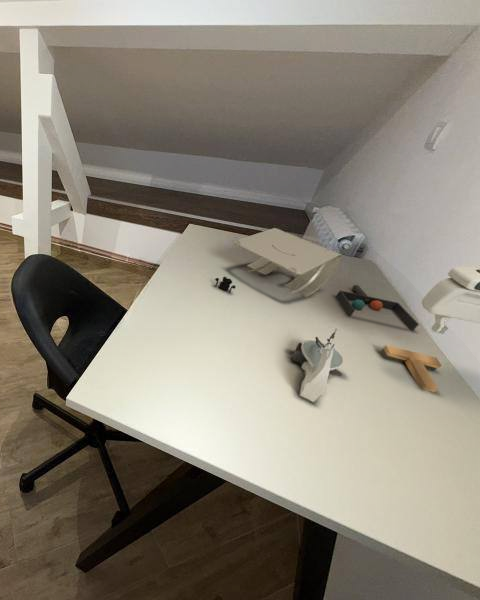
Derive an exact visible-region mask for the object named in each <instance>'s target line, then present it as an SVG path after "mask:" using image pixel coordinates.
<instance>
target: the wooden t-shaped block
mask: <svg viewBox="0 0 480 600" xmlns="http://www.w3.org/2000/svg"><path fill="white" fill-rule="evenodd" d="M378 353H379V354H380V356H381V358H382V359H385V360H388V361H393V362H397V363H400V364H404V365H406V367H407V369H408V370H409V373H410V374H411V376H412V378H413V380H414V381H415V382H416V383H417V385H418V386H419V387H420V388H421V390H424V391H428V392H431V393H435V392H437V391H439V388H438V386H437V384H436V383H435V382H434V380H433V378H432V376H431V374H430V373H429V371H432V372H434V371H436V370H437V369H440V368H441V367H442V366H443V365H442V363H441V362H440V360H439V359H438V357H436V356H432V355H428V354H424V353H420V352H416V351H412V350H408V349H404V348H399V347H396V346H392V345H388V344H385V345H384V347H382V349H381V350H380V351H379V352H378Z"/></svg>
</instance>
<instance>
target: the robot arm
mask: <svg viewBox="0 0 480 600" xmlns="http://www.w3.org/2000/svg"><path fill="white" fill-rule="evenodd" d="M447 276H448V277H447V278H444V279H441V280H440V281H438V282H437V283H436V284H435V285H434V286H433V287H432V288H431V289H430V290H429V291H428V292H427V294H426V295H425V296H424V297H423V298H422V300H421V307H423V309H424V310H426V311H427V312H428V313H430V314H432V315H434V324H433V325H432V326H431V328H430V329H431V331H432V332H434V333H437V334H441V335H443V334H445V333H446V332H447V331H448V329H449V327H448V326H447V325H446V323H445V322H449V321H450V320H451V319H456V320H461V321H467V322H471V323H476V324H480V265H471V266H470V265H469V266H455V267H452V268H451V269H450V270H449V272H448V273H447Z"/></svg>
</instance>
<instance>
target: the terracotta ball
mask: <svg viewBox="0 0 480 600" xmlns="http://www.w3.org/2000/svg"><path fill="white" fill-rule="evenodd" d="M369 307H370V309H371V310H374V311H379V310H382V309H383V308H382V307H383V304H382V302H381V301H378V300H374V301H372V302H371V303H370V305H369Z"/></svg>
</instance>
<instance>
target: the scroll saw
mask: <svg viewBox="0 0 480 600" xmlns="http://www.w3.org/2000/svg"><path fill="white" fill-rule="evenodd" d="M337 331H338V328H335V329H334V331H333V332H332V333H331V335H330V337H329V338H327V339H326V343H324V342H321V340H320V339H319V337H318V336H315V340H305V341H303V342H298V343H297V345H296V348H295V351H294V350H290V351H289V352H288V353H289V355H291V359H292V361H295V362H296V363H298V364H300V370H301V371H302V375H301V377H300V379H299V384H298V391H297V396H298V397H299V398H300V399H303V400H304V401H306V402H309V404H315V403H316V402H317V400H318V398H319V397H321V396H323V395H324V394H325V390H326V387H327V385H328V378H329V376H330V374H331V375H334V376H336V377H342V376H343V373H342V372H341V371H339V370H338V369H339V368H340V367H342V365H343V363H344V358H343V356H342V355H341V353H340V352H339V351H338V350H337V349H335V348H334V346H335V343H333V340H334V339H335V335H336V332H337ZM332 343H333V344H332Z"/></svg>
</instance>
